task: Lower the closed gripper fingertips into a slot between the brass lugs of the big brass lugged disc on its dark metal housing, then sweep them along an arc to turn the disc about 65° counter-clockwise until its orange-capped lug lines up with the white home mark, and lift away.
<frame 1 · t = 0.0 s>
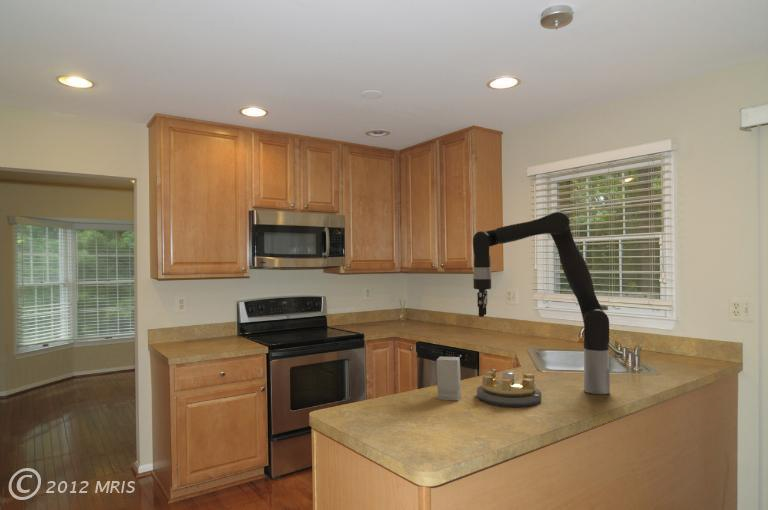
hand: (482, 315, 215), 29 cm above the counter, fingers open, 8 cm apart
nut housing: (508, 398, 192), on the counter
brass lugged disc: (508, 381, 192), point 7 cm above the counter, hinge at 0.0°
skincare box: (449, 398, 193), on the counter
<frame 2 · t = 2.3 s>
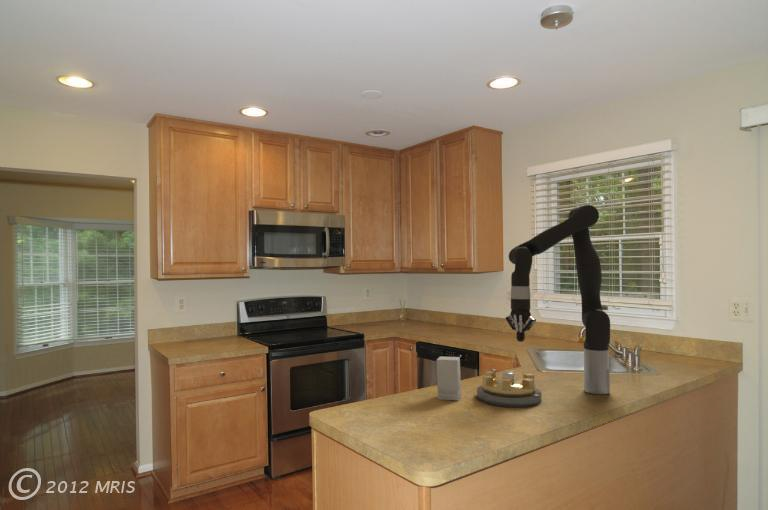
hand: (520, 341, 198), 21 cm above the counter, fingers closed
nothing on the counter moved.
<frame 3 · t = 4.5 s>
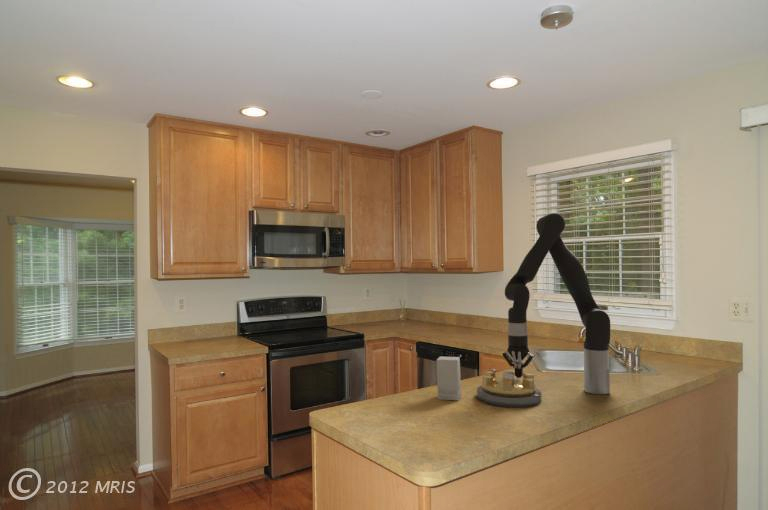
hand: (518, 377, 198), 7 cm above the counter, fingers closed
brass lugged disc: (508, 381, 192), point 7 cm above the counter, hinge at 1.0°, touching gripper
everything else where it was.
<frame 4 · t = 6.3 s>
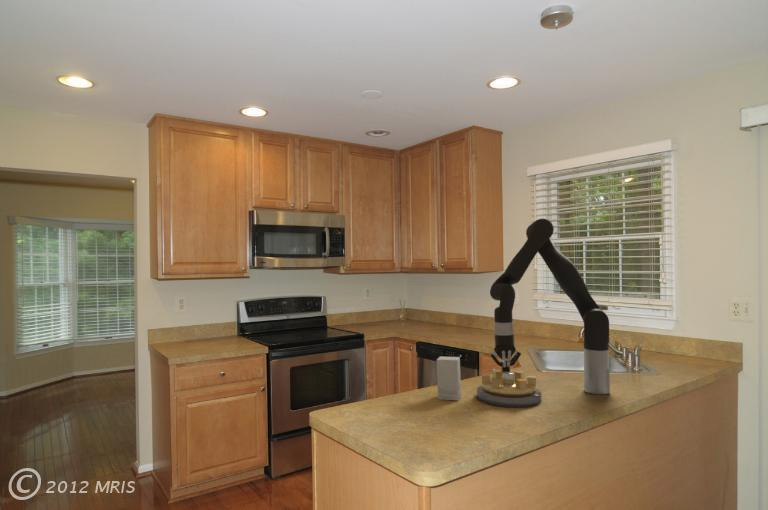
hand: (506, 376, 200), 7 cm above the counter, fingers closed
brass lugged disc: (508, 381, 192), point 7 cm above the counter, hinge at 35.4°, touching gripper
everything else where it was.
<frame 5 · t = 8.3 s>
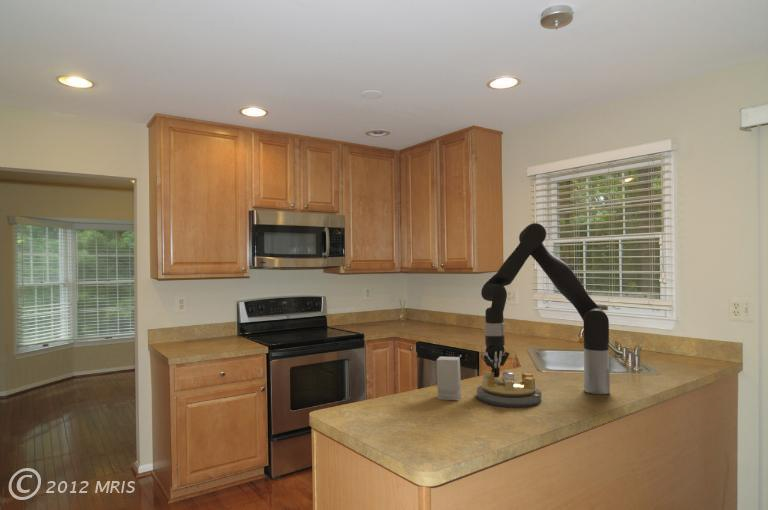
hand: (495, 377, 200), 6 cm above the counter, fingers closed
brass lugged disc: (508, 381, 192), point 7 cm above the counter, hinge at 66.0°, touching gripper
everything else where it was.
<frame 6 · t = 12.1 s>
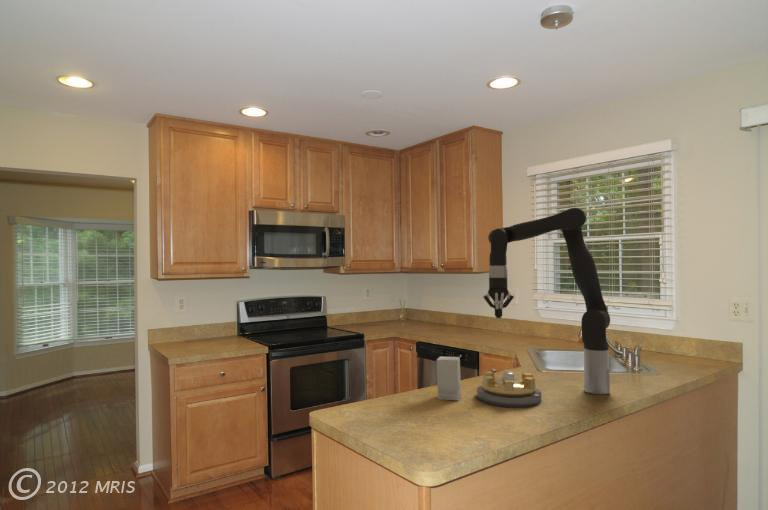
hand: (498, 317, 209), 29 cm above the counter, fingers closed
brass lugged disc: (508, 381, 192), point 7 cm above the counter, hinge at 66.0°
everything else where it was.
at the end: brass lugged disc at +66° (first picture: +0°) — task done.
